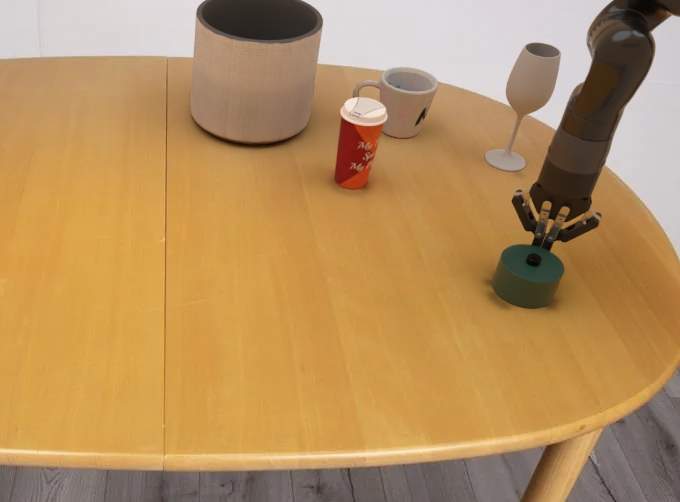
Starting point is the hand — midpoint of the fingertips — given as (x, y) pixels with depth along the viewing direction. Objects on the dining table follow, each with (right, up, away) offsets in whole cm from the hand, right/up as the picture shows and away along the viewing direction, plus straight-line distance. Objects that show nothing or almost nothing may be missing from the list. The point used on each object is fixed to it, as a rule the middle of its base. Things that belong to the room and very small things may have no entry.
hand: (537, 256), depth 133 cm
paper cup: (-25, +15, +19) cm, 34 cm away
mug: (-15, +27, +33) cm, 45 cm away
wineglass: (+4, +19, +25) cm, 32 cm away
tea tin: (-3, -5, -2) cm, 6 cm away
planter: (-41, +29, +33) cm, 60 cm away
